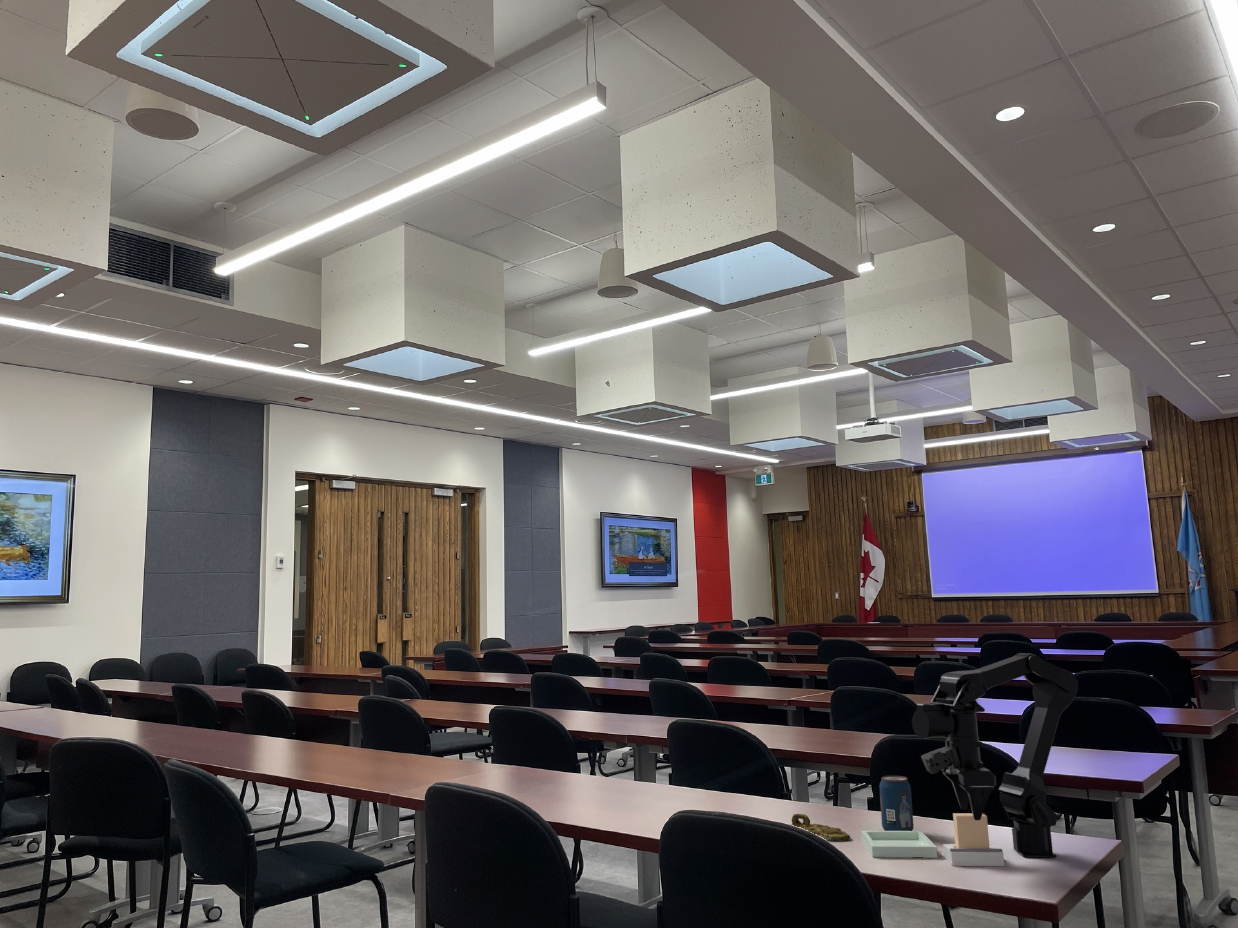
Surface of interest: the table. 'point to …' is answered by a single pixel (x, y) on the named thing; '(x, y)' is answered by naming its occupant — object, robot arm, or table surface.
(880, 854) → the tray
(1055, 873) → the table surface
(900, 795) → the soda can
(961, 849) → the dispenser
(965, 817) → the tan cardboard block
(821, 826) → the seal
